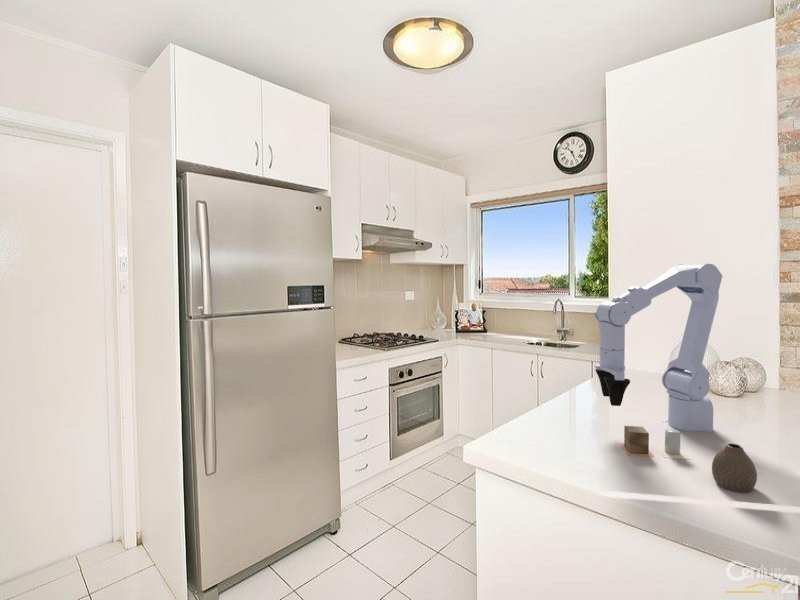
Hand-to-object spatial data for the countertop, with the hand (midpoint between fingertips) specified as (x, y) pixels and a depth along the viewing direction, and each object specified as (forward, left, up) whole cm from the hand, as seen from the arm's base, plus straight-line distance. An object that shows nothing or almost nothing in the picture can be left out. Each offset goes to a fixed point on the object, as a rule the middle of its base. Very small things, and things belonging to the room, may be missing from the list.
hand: (611, 400), depth 108 cm
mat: (-7, +10, -9) cm, 15 cm away
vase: (-16, +24, -10) cm, 30 cm away
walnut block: (-3, +10, -9) cm, 14 cm away
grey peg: (-11, +10, -9) cm, 17 cm away
